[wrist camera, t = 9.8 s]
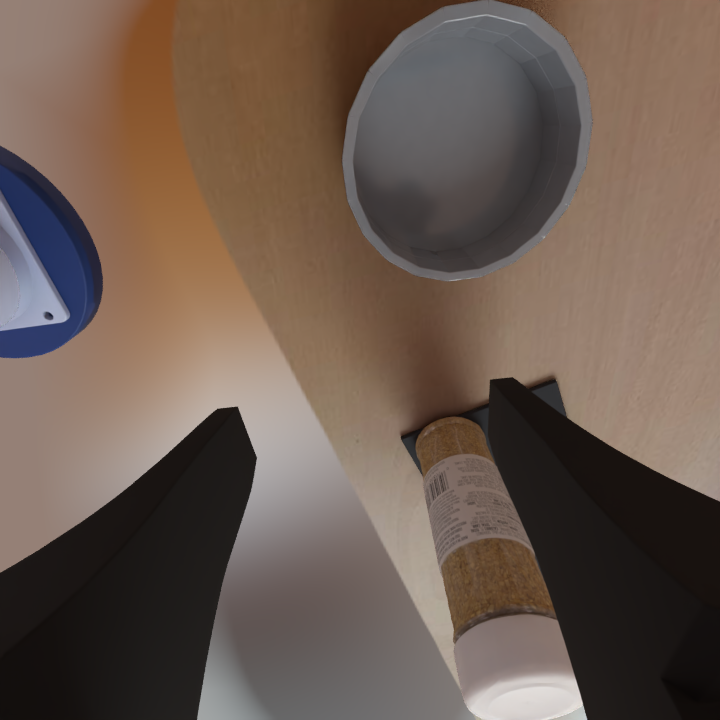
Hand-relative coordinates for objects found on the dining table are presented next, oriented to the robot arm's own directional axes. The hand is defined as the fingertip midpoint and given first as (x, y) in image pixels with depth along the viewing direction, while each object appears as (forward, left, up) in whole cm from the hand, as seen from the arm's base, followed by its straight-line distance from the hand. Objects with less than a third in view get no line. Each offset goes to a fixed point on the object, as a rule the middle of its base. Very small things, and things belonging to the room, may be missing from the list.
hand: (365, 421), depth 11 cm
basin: (+5, +6, -10) cm, 13 cm away
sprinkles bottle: (+4, -11, -10) cm, 16 cm away
